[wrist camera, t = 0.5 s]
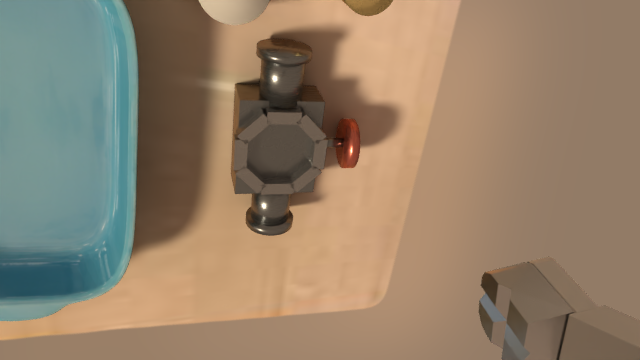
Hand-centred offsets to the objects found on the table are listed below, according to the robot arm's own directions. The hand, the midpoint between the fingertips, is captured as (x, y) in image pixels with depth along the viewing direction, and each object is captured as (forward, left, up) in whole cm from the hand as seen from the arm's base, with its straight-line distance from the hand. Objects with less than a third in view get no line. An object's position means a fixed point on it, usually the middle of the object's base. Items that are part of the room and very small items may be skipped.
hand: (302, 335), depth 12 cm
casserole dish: (+15, -16, -43) cm, 49 cm away
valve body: (+16, +9, -43) cm, 47 cm away
